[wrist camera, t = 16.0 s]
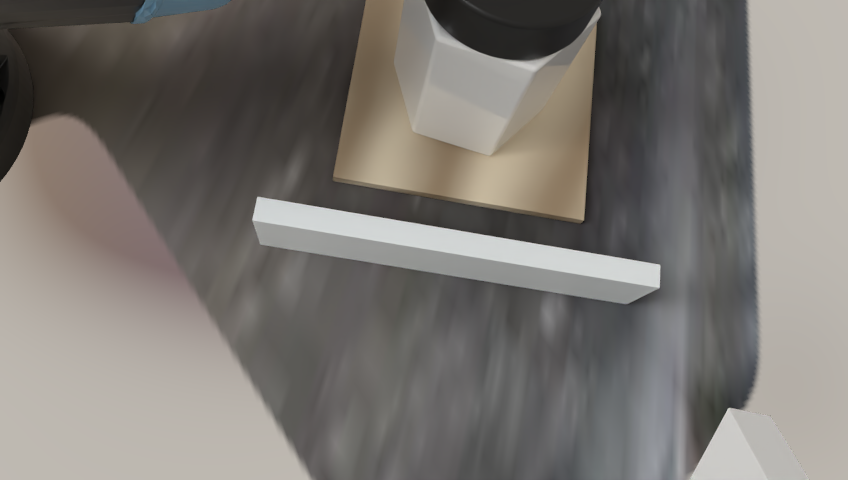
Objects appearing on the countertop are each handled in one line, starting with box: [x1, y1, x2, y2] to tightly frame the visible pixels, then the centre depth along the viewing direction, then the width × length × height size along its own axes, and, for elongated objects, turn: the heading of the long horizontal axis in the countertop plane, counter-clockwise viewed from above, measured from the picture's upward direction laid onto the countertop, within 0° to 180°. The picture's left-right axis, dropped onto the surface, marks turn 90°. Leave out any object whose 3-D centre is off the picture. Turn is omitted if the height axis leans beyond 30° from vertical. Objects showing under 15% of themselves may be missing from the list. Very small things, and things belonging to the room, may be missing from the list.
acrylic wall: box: [252, 197, 660, 304], centre depth 36 cm, size 20×1×4 cm, turn 83°
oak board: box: [333, 0, 597, 224], centre depth 40 cm, size 14×14×1 cm
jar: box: [394, 0, 602, 156], centre depth 34 cm, size 9×8×12 cm
